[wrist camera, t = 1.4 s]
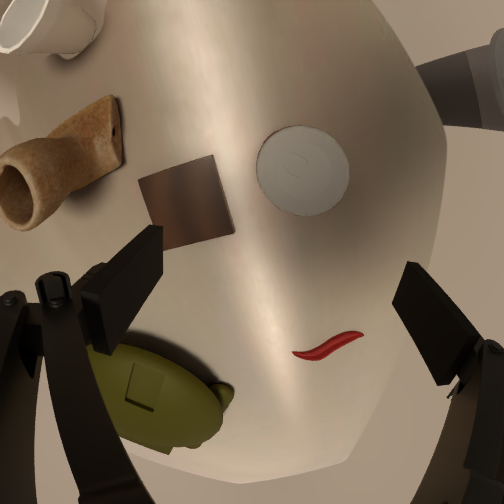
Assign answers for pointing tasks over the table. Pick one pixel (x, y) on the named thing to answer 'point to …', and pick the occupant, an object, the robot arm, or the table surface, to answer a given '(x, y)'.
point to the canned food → (302, 170)
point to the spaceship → (157, 399)
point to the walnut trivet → (187, 203)
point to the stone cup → (59, 164)
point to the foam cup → (45, 27)
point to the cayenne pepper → (329, 346)
